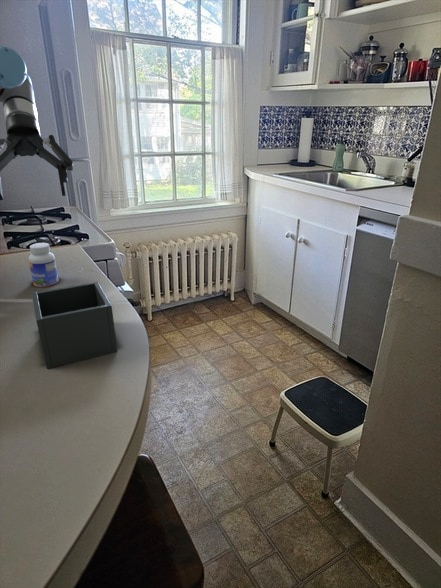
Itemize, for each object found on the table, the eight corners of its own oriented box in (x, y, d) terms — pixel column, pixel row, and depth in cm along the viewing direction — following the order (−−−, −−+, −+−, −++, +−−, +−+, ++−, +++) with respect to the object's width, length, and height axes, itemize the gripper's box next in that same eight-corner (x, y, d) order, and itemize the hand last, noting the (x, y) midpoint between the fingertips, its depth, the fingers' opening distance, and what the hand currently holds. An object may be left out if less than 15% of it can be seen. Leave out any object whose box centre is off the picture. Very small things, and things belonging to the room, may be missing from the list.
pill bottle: (28, 288, 89) (19, 247, 85) (46, 279, 94) (38, 240, 90) (47, 291, 87) (39, 250, 83) (64, 283, 92) (57, 243, 88)
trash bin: (46, 369, 61) (36, 320, 57) (41, 336, 70) (31, 292, 66) (117, 351, 65) (111, 305, 62) (103, 323, 74) (97, 281, 71)
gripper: (75, 133, 106) (88, 199, 99) (-31, 135, 97) (-24, 207, 91) (73, 111, 99) (87, 181, 93) (-40, 111, 90) (-34, 188, 84)
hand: (32, 194), depth 92 cm, fingers open, 13 cm apart
